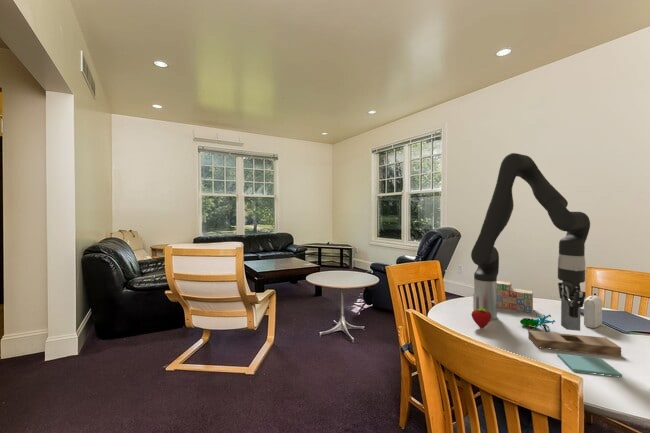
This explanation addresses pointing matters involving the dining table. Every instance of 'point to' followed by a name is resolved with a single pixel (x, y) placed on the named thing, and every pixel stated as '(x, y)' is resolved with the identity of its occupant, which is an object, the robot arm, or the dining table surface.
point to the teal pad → (588, 365)
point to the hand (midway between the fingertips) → (570, 314)
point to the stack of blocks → (514, 297)
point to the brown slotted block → (574, 343)
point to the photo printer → (592, 311)
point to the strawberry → (481, 317)
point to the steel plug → (566, 320)
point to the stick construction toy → (537, 322)
